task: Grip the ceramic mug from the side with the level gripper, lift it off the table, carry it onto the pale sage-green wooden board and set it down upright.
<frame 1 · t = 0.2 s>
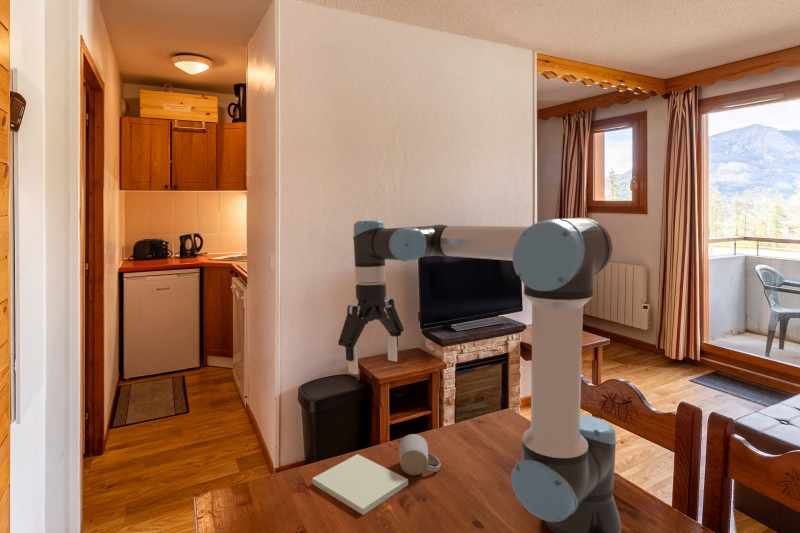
hand: (373, 366, 121), 27 cm above the table, tool pointing down, fingers open, 13 cm apart
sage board: (360, 484, 117), on the table
ceramic mug: (419, 468, 124), on the table
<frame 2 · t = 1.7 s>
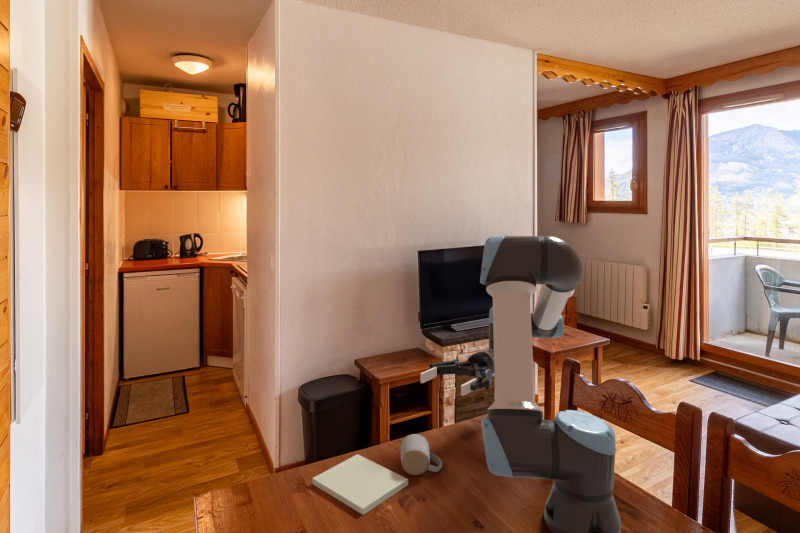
hand: (440, 384, 129), 20 cm above the table, tool horizontal, fingers open, 13 cm apart
nothing on the table moved.
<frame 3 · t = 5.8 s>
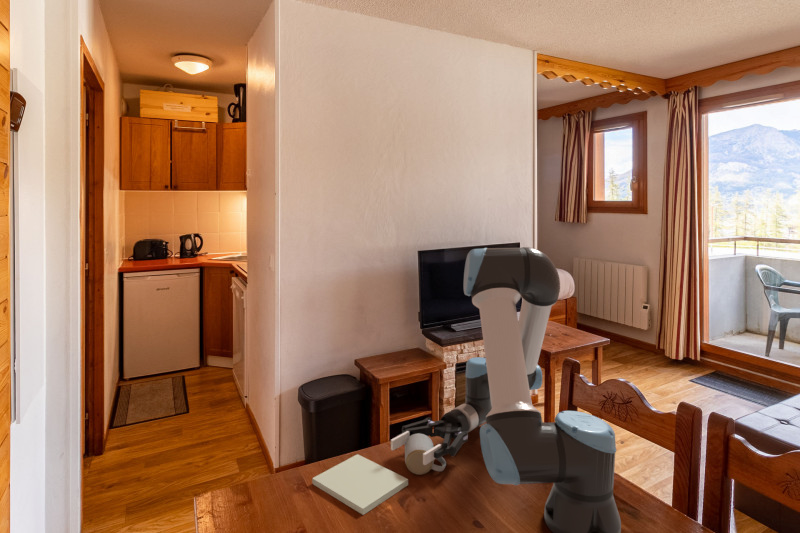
hand: (407, 452, 120), 6 cm above the table, tool horizontal, fingers closed on ceramic mug, 10 cm apart
ceramic mug: (424, 468, 124), on the table, touching gripper
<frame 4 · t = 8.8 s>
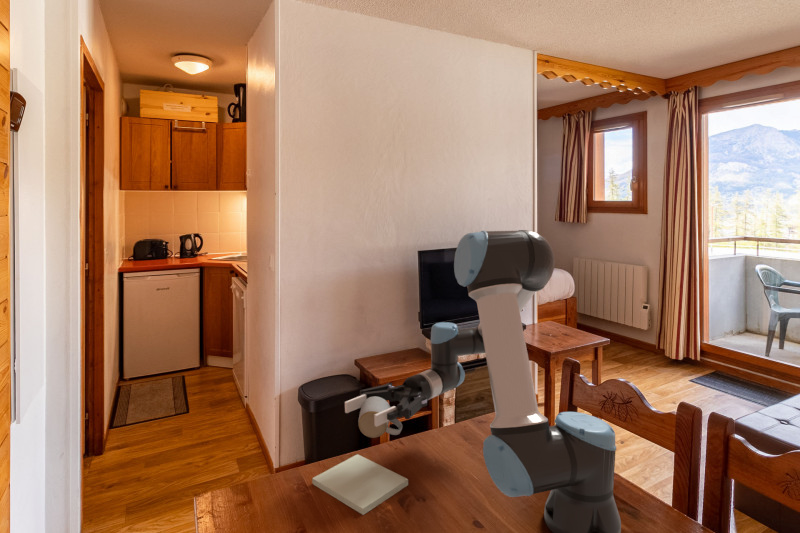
hand: (360, 413, 115), 18 cm above the table, tool horizontal, fingers closed on ceramic mug, 10 cm apart
ceramic mug: (380, 432, 119), point 12 cm above the table, touching gripper
when the fingers open (9 cm above the table, at t = 11.4 s): ceramic mug drops 1 cm, resting on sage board.
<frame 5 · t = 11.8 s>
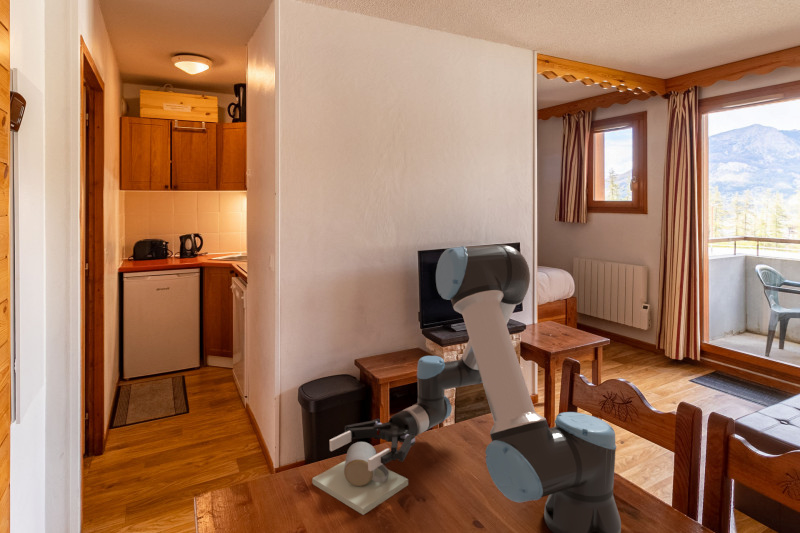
hand: (348, 455, 113), 9 cm above the table, tool horizontal, fingers open, 13 cm apart
ceramic mug: (366, 478, 117), point 1 cm above the table, touching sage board
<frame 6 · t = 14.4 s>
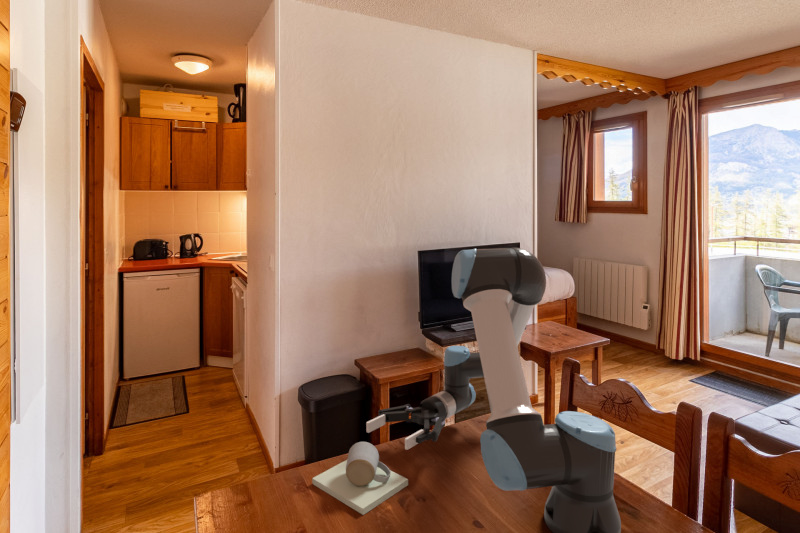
hand: (385, 435, 123), 9 cm above the table, tool horizontal, fingers open, 13 cm apart
nothing on the table moved.
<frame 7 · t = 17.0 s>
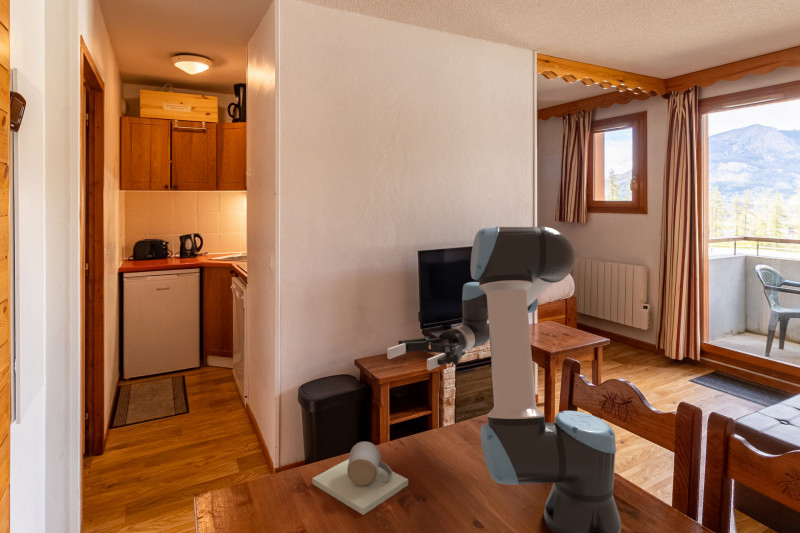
hand: (407, 359, 124), 28 cm above the table, tool horizontal, fingers open, 13 cm apart
nothing on the table moved.
at the end: ceramic mug inside the target area on the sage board (2.3 cm from its centre), point 1.3 cm above the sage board's base; ceramic mug tilted 1°; the gripper is holding nothing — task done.
